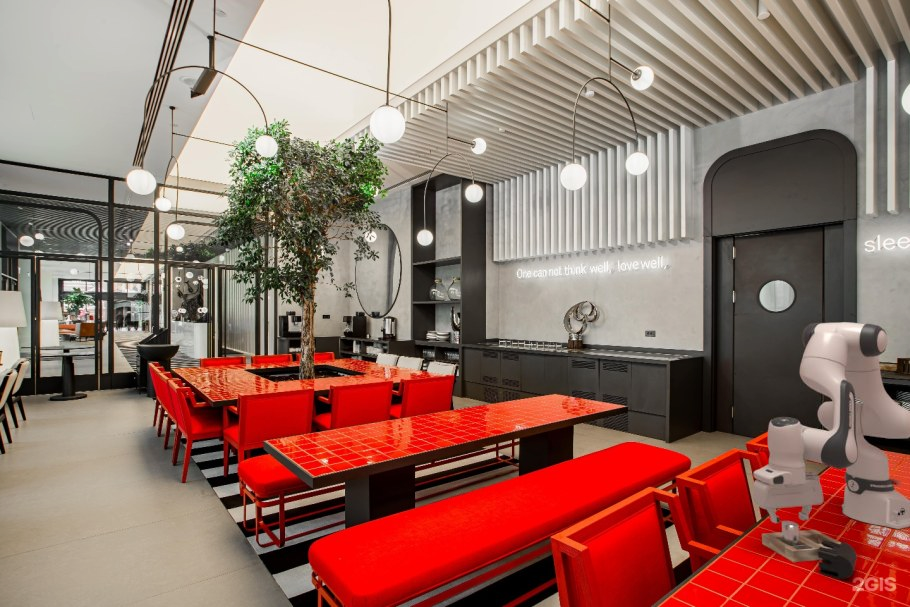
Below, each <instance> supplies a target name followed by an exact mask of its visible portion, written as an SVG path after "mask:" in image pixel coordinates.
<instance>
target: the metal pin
mask: <svg viewBox="0 0 910 607" xmlns="http://www.w3.org/2000/svg"><path fill="white" fill-rule="evenodd" d="M799 531H800V530H799V524H798V523H797V522H794V521H790V520H782V521H781V532H782V537H783V543H785V544H787V545H789V546H798V545H799Z"/></svg>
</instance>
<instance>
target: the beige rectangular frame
mask: <svg viewBox="0 0 910 607" xmlns="http://www.w3.org/2000/svg"><path fill="white" fill-rule="evenodd" d="M761 538H762V539H761V540H762V545H764V546H765V547H767V548H768V549H770V550H772V551H774V552H775V553H777V554H778V555H781V556H782V557H784V558H786V559H788V560H789V561H791V562H792V563H797V562H810V561H821V560H822V559H823V558H819V557H818V550H819V547H823V548H827V549H832V548H828V547H824V546H823V545H822V544H821V543H822V541H823V540H825V541H829V542H833V543H837V544H841V542H840V541H838V540H836V539H834V538H832V537H830V536H828V535H826V534H824V533H822V532H820V531H818V530H816V529H808V530H799V545H798V546H789V545H787V544H785V543H783V537H782V531H781V532H780V531H779V532H770V533H769V532H768V533H761Z"/></svg>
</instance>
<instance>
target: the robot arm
mask: <svg viewBox="0 0 910 607" xmlns="http://www.w3.org/2000/svg"><path fill="white" fill-rule="evenodd" d="M801 340H802V341H801V342H802V344H803V346H804V348H805V349H804V352H803V355H802V359H801V362H800V366H799V376H800V378H801V380H802V382H803V383H804V384H806V385H807V387H809V388H810V389H812V390H814V391H815V392H817V393H820V394H822V395H824V396H826V397H828V398H830V399H831V400H832V401H831V400H830V401H825V402H823V403H822V404H821V405H819V408H818V410H817V418H818V422H820V424H821V425H822V426H823V427H824V428H825V429H826V430H824V429H818V428H813V427H809V426H806V425H803V424H801V422H800V421H799V420H798V419H797V418H794V417H789V416H778V417H775V418H772V419H771V420H770V421H769V423H768V427H767V428H768V429H767V446H768V451H769V458H768V464H766V465H765V466H763V467H761V468H759V469H756V470H754V471H753V477H754V478H755V479H756V480H754V482H753V486H752V489H753V490H752V491H753V492H752V493H753V494H752V495H753V499H752V500H753V502H754V504H755V505H756V506H757V507H759V508H761V509H764V510H766V511H767V513H768V514H769V516H770V521H771V522H772V523H774V524H779V523H781V521H780V520H781V518H780V516H778V515H776V513H777V509H783V508H785V509H786V508H795V507H797V508H798V507H802V508H801V511H799V512H798V518H799V519H800V520H802V521H809V517H810V516H809V514H810V512H811V511H812V509H813V508H812V506H819V505H822V504H823V502H824V495H823V488H822V485H821V483H820V481H821V480H820V476H819V474H817V473H816V472H814V471H807V472H806V463H805V461H804V459H805V460H808V461H811V462H815V463H820V464H822V465H826V466H828V467H831V468H835V469H837V470H844V469H846V471H845V472H844V480H845V484H846V485H845V487H844V495H843V496H844V497H843V498H844V499H843V503H842V504H841V508H842V512H841V513H842V514H843V515H845V516H847V517H848V518H851V519H853V520H856V521H859V522H862V523H866V524H871V525H876V526H882V527H888V528H892V529H897V530H899V529H900V530H901V529H904V528H909V527H910V499H909V498H907V497H906V496H904V495H903V494H901V493H900V492H898V491H897V490H896V489H895V486H896V487H900V486H901V484H902V481H901V480H900V479H896V478H893V477H892V478H890V470H889V469H890V468H889V458H888V455H887V454H886V453H885V452H884V451H883V450H881V449H880V448H878V447H876V446H874V445H872V444H871V443H869V441H867V440H866V438H864V437H865V436H869V437H875V438H885V439H909V438H910V410H908V409H907V408H904V407H903V406H901V405H900V404H899V403H897V402H896V401H894V400H893V399H892V398H891V396H890V395H889V394H888V393H887V391H886V389H885V387H884V384H883V380H882V375H881V373H882V372H881V366H880V365H881V364H880V360H879V356H880V355H882V354H883V353H885V351H886V348H887V347H888V346H887V345H888V336H887V332H886V330H885V329H883V327H881V326H880V325H877V324H873V323H865V324H864V323H857V322H848V321H847V322H845V321H844V322H843V321H842V322H813V323H810V324H808V325H807V326H805V327H804V329H803V330H802V335H801ZM856 399H858V400H859V401H860V402H856Z"/></svg>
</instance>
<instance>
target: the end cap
mask: <svg viewBox="0 0 910 607" xmlns="http://www.w3.org/2000/svg"><path fill="white" fill-rule="evenodd" d="M821 544H822V545H823V546H824V547H828V548H832V549H827V548H823V547H819V550H818V557H819V558H823V559H822V562H821V561H818V569H819V574H820V575H823V576H827V577H831V578H833V579H837V580H844V579H847V578H850V577H851V576H852V575H853V573H854V571H855V570H854V569H855V566H856V563H857V558H858V555H857V552H856V551H855V549H854V548H853V547H852V546H851V545H850V543H846V542H845V541H841V544H837V543H833V542H829V541H825V540H823V541H822V543H821Z"/></svg>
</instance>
